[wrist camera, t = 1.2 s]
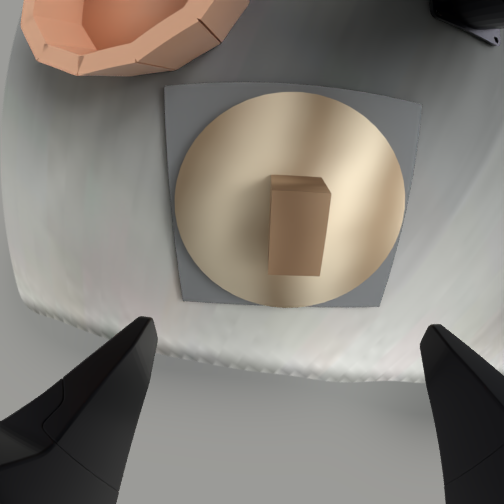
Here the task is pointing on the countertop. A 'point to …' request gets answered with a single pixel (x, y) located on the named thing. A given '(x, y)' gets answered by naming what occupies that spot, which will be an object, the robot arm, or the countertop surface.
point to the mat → (233, 93)
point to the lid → (289, 199)
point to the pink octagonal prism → (125, 33)
